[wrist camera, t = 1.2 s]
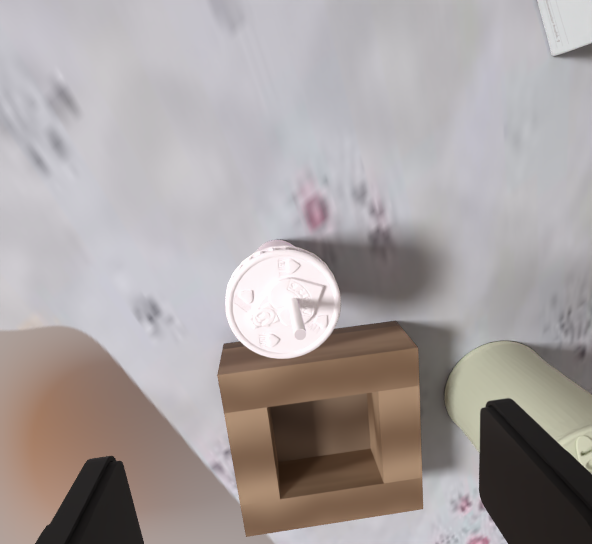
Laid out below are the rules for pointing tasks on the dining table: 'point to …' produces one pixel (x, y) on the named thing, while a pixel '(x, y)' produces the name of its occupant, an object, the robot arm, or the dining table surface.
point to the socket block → (325, 429)
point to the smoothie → (282, 301)
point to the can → (521, 395)
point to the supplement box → (566, 24)
